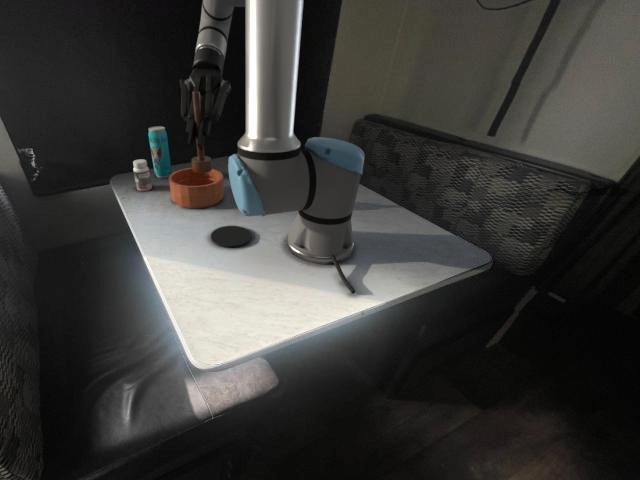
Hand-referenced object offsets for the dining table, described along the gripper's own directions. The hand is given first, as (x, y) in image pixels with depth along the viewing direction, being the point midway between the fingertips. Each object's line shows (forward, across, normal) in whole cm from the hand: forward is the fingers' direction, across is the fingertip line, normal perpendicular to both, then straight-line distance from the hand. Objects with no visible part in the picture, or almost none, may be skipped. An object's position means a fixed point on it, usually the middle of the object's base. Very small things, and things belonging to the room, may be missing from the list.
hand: (195, 146), depth 82 cm
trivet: (+21, -12, -4) cm, 24 cm away
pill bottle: (+3, +23, -22) cm, 31 cm away
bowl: (+6, +4, -18) cm, 20 cm away
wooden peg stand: (+2, 0, -8) cm, 8 cm away
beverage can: (-5, +21, -30) cm, 37 cm away
